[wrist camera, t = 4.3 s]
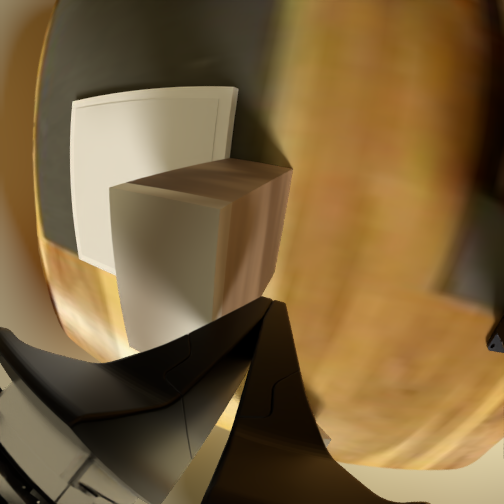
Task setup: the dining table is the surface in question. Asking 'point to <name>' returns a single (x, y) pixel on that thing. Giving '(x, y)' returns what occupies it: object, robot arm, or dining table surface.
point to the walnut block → (195, 244)
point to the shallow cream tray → (139, 149)
